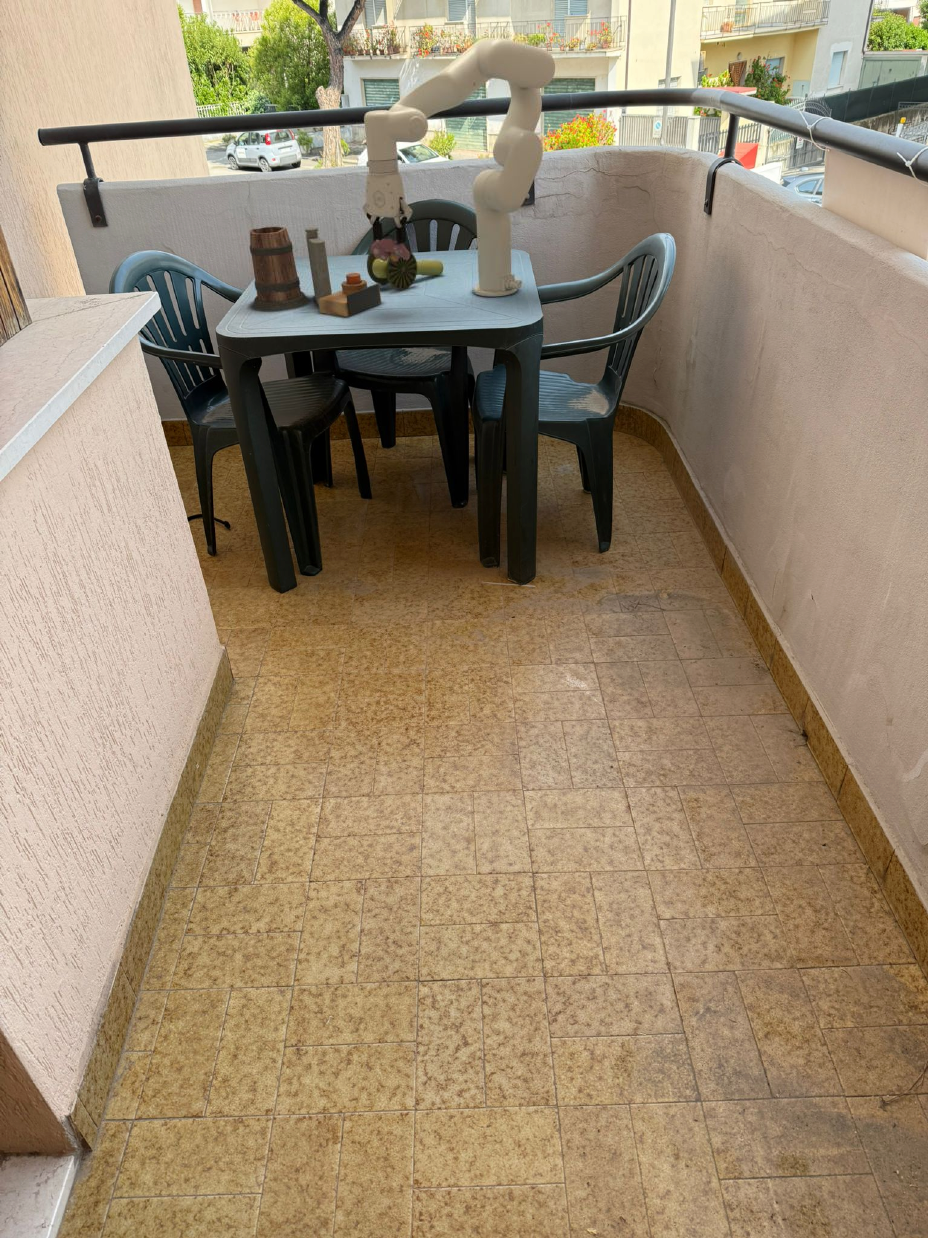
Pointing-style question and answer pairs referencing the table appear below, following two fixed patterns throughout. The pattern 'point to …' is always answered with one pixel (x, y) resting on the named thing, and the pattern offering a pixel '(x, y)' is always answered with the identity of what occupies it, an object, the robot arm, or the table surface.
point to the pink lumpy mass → (389, 250)
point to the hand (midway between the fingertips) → (389, 240)
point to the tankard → (275, 270)
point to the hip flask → (318, 264)
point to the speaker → (340, 300)
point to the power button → (353, 278)
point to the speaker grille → (363, 299)
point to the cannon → (400, 270)
